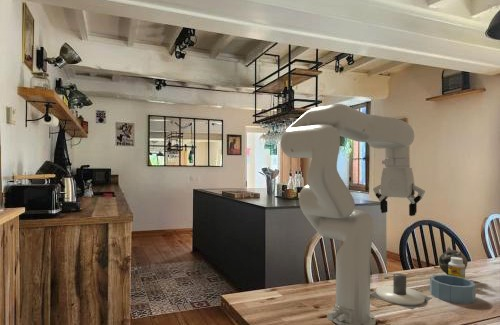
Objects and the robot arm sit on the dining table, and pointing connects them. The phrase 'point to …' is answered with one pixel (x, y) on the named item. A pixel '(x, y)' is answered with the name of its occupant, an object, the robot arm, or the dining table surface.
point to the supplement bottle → (456, 267)
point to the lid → (400, 292)
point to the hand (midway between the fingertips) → (397, 213)
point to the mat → (402, 305)
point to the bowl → (453, 289)
